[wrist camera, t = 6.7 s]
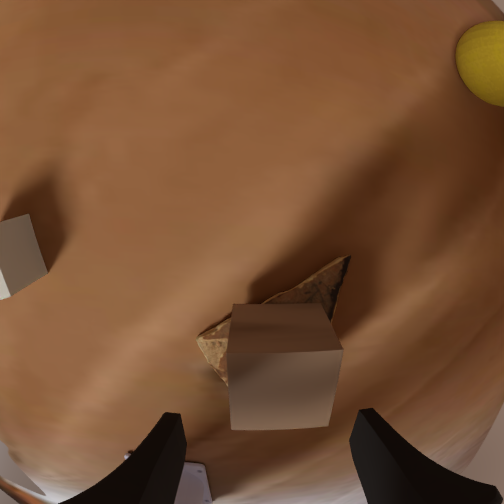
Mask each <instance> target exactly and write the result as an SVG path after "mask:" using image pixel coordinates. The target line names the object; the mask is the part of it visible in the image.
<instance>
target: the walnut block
mask: <svg viewBox="0 0 504 504" xmlns="http://www.w3.org/2000/svg"><path fill="white" fill-rule="evenodd" d="M342 356H343V348H342V345H341V343H340V341H339V339H338V337H337V335H336V333H335V331H334V329H333V327H332V325H331V323H330V321H329V319H328V317H327V315H326V313H325V311H324V309H323V307H322V305H321V303H299V304H233V308H232V316H231V323H230V330H229V337H228V344H227V351H226V357H227V375H228V391H229V406H230V420H231V430H283V429H301V428H314V427H324V426H328V424H329V420H330V416H331V411H332V407H333V402H334V398H335V393H336V388H337V383H338V378H339V372H340V367H341V361H342Z"/></svg>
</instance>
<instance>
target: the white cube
mask: <svg viewBox="0 0 504 504" xmlns="http://www.w3.org/2000/svg"><path fill="white" fill-rule="evenodd" d="M46 274H48V272H47V269H46V266H45V263H44V261H43V258H42V255H41V252H40V249H39V246H38V243H37V239H36V236H35V233H34V229H33V226H32V222H31V219H30V215H29V214H26V215H22V216H19V217H15V218H12V219H8V220H5V221H2V222H0V300H1V299H4V298H8V297H11V296H12V295H14V294H15V293H17V292H19V291H20V290H22V289H23V288H25V287H27V286H28V285H30V284H31V283H33V282H35V281H36V280H38V279H40V278H41V277H43V276H45V275H46Z"/></svg>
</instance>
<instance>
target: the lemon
mask: <svg viewBox="0 0 504 504" xmlns="http://www.w3.org/2000/svg"><path fill="white" fill-rule="evenodd" d="M455 58H456V65H457V69H458V72H459V74H460V76H461V78H462V80H463V82H464V83H465V85H466V86H467V87H468V88H469V90H470V91H471V92H472V93H474V94H475V95H476V96H477V97H478V98H480V99H482V100H483V101H485V102H487V103H489V104H493V105H497V106H502V107H504V21H488V22H483V23H479V24H477V25H475V26H473V27H471V28H470V29H469V30H467V31H466V32H465V33H464V34H463V35H462V36H461V38H460V40H459V42H458V44H457V47H456V54H455Z"/></svg>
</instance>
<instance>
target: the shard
mask: <svg viewBox="0 0 504 504" xmlns="http://www.w3.org/2000/svg"><path fill="white" fill-rule="evenodd" d="M350 259H351V255H348V256H344V257H340V256H339V257H338V258H336V259H335V260H334V261H332V262H331V263H329V264H327V265H326V266H324V267H322V268H321V269H320V270H319V271H317V272H316V273H315V274H313V275H311V276H310V277H309V278H308V279H306V280H304V281H303V282H301V283H300V284H298V285H297V286H296V287H294V288H292V289H291V290H289V291H285V292H281V293H278V294H276V295H274V296H273V297H271V298H269V299H267V300H266V301H264V302H263V303H261V304H299V303H321V305H322V307H323V309H324V311H325V313H326V315H327V317H328V319H329V321H330V323H332V320H333V317H334V313H335V310H336V305H337V301H338V295H339V292H340V288H341V285H342V283H343V279H344V277H345V276H346V273H347V272H348V266H349V262H350ZM230 323H231V318H229V319H227V320H225V321H224V322H222V323H220V324H219V325H218V326H217V327H215V328H212V329H210V330H208V331H206V332H205V333H203V334H201V335H199V336H198V337H197V338H196V341H197V343H198V345H199V347H200V349H201V350H202V352H203V353H204V355H205V356H206V358H207V360H208V362H209V364H210V365H211V367H212V368H214V370H215V371H216V372H217V374H218V375H219V376H220V377H221V378H222V379H223V380H224V381H225V383H226V384H227V385H228V375H227V357H226V351H227V344H228V337H229V330H230Z"/></svg>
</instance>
